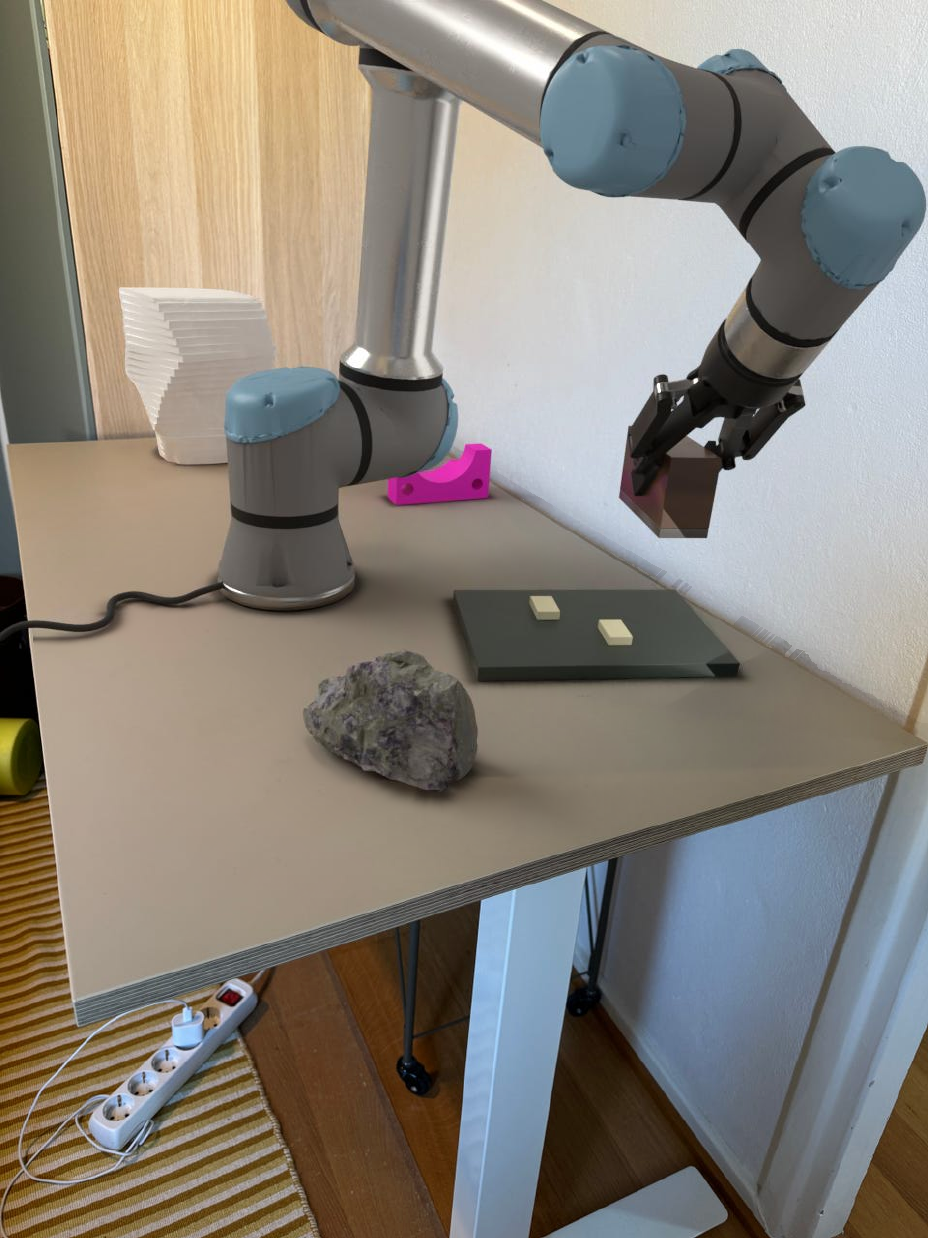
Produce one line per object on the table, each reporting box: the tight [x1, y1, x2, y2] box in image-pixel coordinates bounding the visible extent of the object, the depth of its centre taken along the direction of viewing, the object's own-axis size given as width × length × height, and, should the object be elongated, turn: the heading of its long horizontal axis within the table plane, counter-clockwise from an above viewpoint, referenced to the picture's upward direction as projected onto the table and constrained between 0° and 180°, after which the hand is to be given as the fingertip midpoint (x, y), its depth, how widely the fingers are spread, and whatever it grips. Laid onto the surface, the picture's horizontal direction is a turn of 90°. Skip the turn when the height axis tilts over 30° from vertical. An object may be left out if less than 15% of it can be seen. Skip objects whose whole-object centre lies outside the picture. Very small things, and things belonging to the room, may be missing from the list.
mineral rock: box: [302, 649, 479, 793], centre depth 68 cm, size 13×11×10 cm
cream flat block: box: [598, 620, 633, 645], centre depth 89 cm, size 4×2×1 cm, turn 8°
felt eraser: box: [618, 425, 722, 539], centre depth 89 cm, size 13×5×8 cm, turn 8°
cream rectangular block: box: [529, 596, 560, 620], centre depth 93 cm, size 4×2×1 cm, turn 8°
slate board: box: [452, 588, 741, 682], centre depth 91 cm, size 18×26×2 cm
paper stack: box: [118, 286, 277, 466], centre depth 141 cm, size 21×27×26 cm
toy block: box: [387, 442, 493, 506], centre depth 132 cm, size 15×6×8 cm, turn 114°
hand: (662, 484), depth 90 cm, fingers closed on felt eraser, 5 cm apart
